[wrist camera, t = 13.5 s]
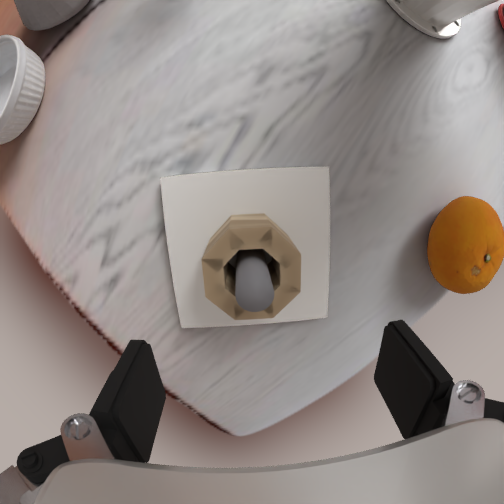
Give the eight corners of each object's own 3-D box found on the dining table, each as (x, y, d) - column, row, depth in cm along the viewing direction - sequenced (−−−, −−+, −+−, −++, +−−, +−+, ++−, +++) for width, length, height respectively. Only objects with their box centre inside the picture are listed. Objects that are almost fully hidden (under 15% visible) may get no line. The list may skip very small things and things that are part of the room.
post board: (164, 176, 25) (120, 183, 15) (324, 166, 26) (372, 167, 16) (183, 321, 30) (162, 386, 20) (323, 311, 30) (356, 371, 20)
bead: (208, 216, 25) (198, 230, 19) (287, 212, 25) (301, 225, 20) (214, 289, 27) (208, 321, 21) (288, 285, 27) (299, 316, 22)
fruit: (399, 233, 28) (443, 254, 20) (455, 176, 26) (503, 183, 19) (433, 295, 30) (471, 324, 23) (482, 241, 29) (523, 259, 21)
